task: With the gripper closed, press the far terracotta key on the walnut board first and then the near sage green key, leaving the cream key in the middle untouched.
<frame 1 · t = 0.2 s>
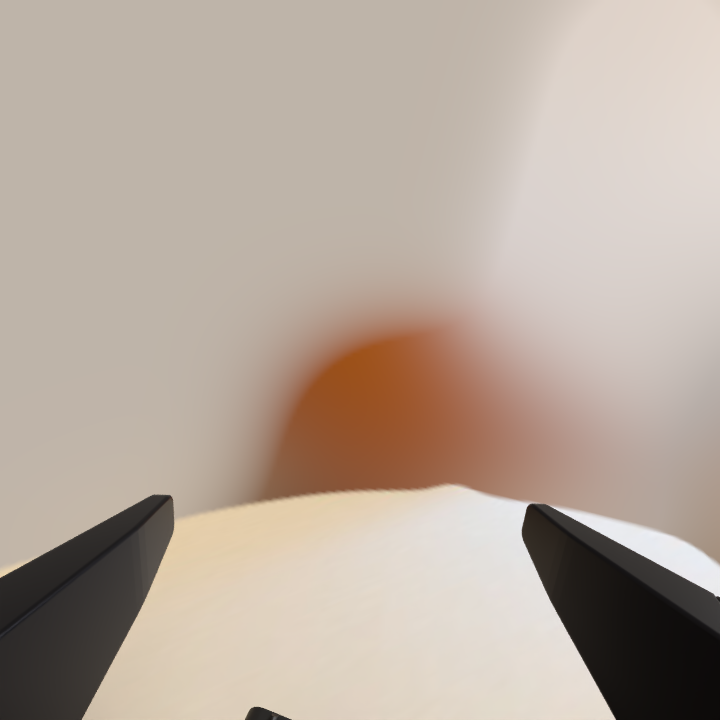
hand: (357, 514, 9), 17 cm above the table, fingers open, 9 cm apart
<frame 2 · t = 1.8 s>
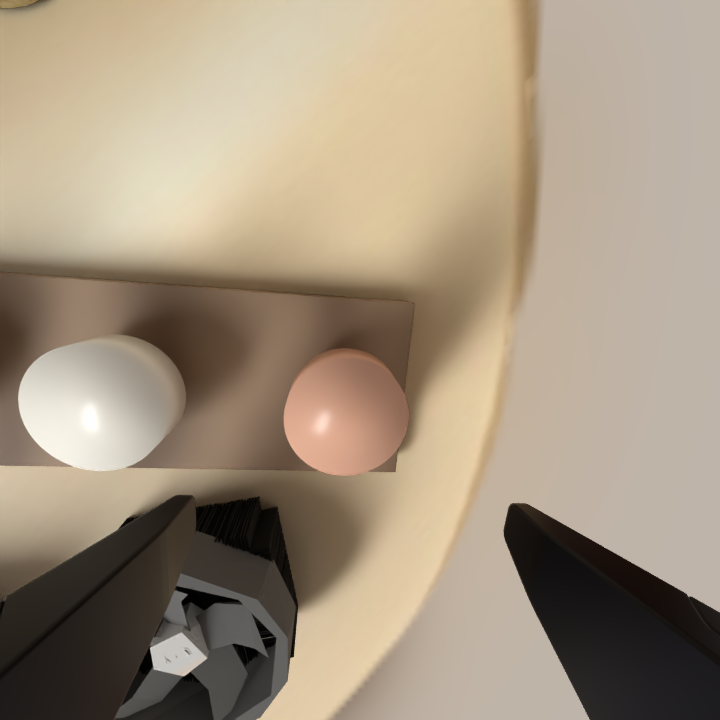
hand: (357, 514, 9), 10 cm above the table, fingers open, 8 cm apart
cream key: (110, 401, 14), point 4 cm above the table, slide at 0.0 cm
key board: (158, 372, 17), on the table
terracotta key: (345, 410, 15), point 4 cm above the table, slide at 0.0 cm
cpu cooler: (215, 565, 21), on the table
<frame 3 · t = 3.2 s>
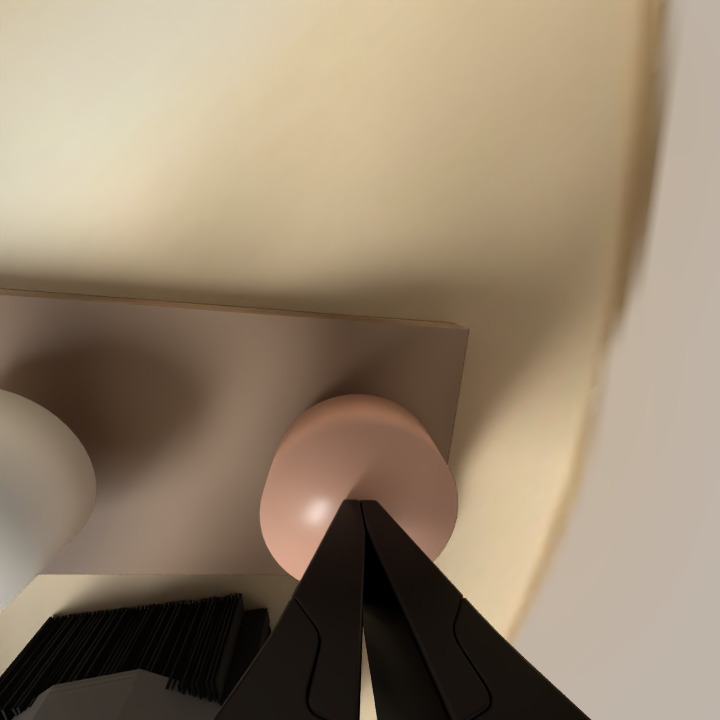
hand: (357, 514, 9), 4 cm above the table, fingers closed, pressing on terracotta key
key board: (76, 427, 12), on the table
terracotta key: (358, 490, 10), point 3 cm above the table, slide at 1.0 cm, touching gripper
cpu cooler: (176, 677, 15), on the table
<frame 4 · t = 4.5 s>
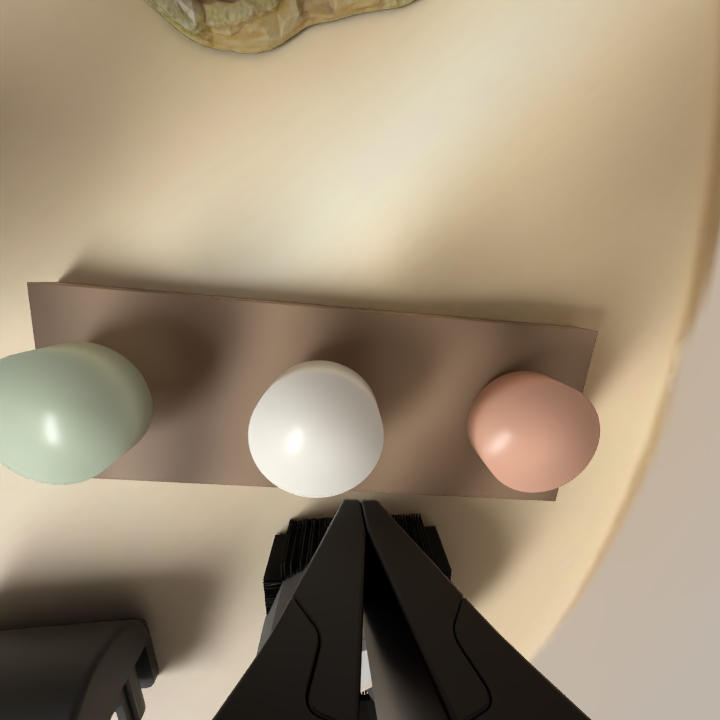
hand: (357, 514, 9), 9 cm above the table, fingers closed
cream key: (318, 427, 14), point 4 cm above the table, slide at 0.0 cm
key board: (323, 394, 18), on the table
terracotta key: (529, 430, 15), point 3 cm above the table, slide at 1.1 cm
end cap: (75, 634, 21), on the table
sage key: (70, 410, 13), point 4 cm above the table, slide at 0.0 cm
cpu cooler: (357, 576, 21), on the table
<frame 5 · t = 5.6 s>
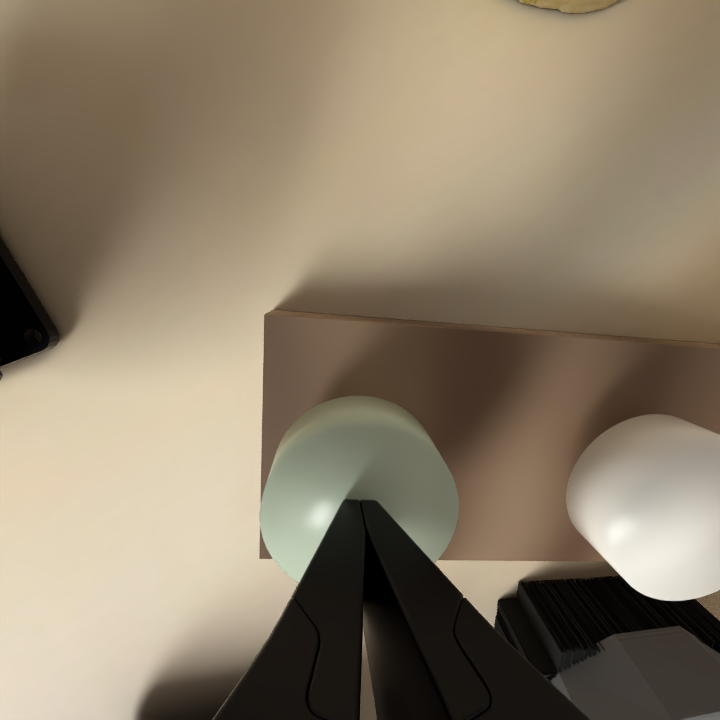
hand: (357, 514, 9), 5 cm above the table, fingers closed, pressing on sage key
cream key: (667, 504, 10), point 4 cm above the table, slide at 0.0 cm
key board: (575, 441, 14), on the table
sage key: (358, 492, 10), point 4 cm above the table, slide at 0.1 cm, touching gripper
cpu cooler: (572, 642, 18), on the table
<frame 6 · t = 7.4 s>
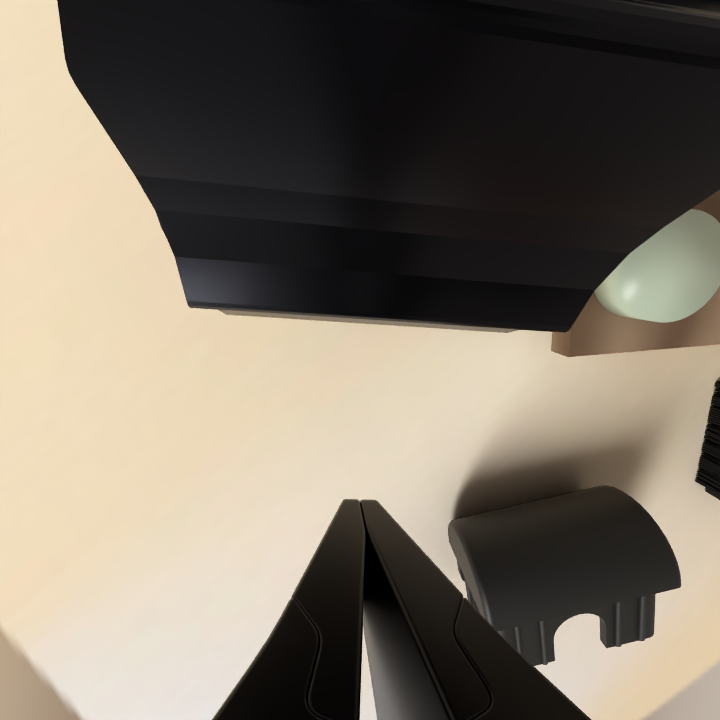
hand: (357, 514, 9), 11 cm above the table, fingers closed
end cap: (515, 518, 24), on the table
sage key: (656, 268, 17), point 3 cm above the table, slide at 1.2 cm
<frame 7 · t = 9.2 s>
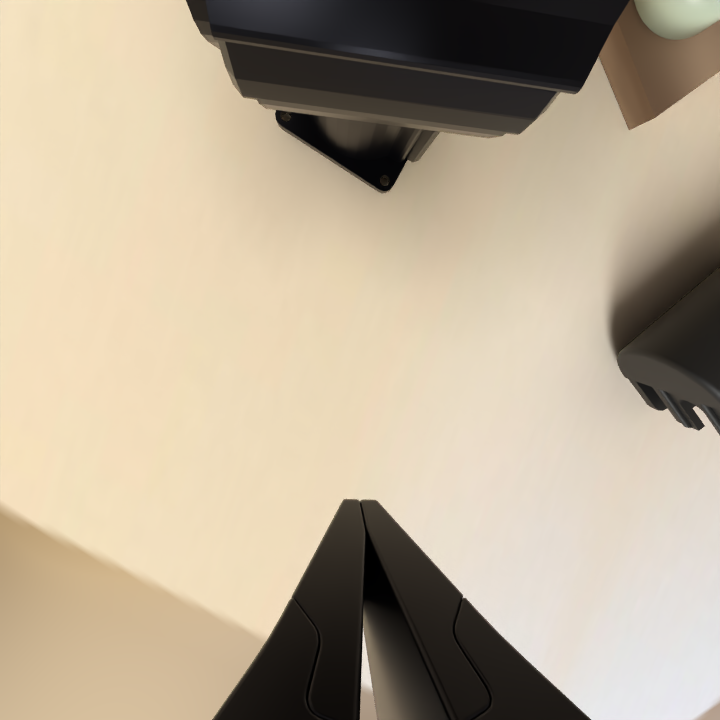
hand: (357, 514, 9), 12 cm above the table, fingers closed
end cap: (678, 324, 22), on the table
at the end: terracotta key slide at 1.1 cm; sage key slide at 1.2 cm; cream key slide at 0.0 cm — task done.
